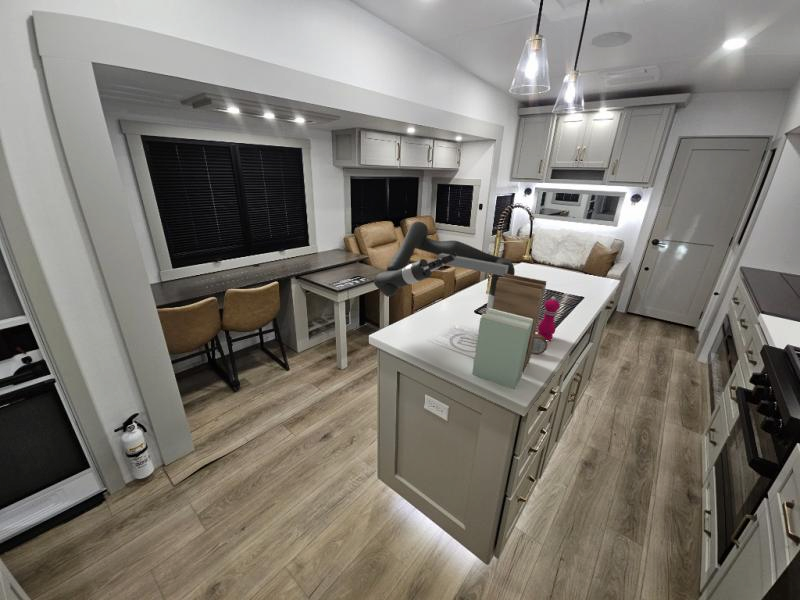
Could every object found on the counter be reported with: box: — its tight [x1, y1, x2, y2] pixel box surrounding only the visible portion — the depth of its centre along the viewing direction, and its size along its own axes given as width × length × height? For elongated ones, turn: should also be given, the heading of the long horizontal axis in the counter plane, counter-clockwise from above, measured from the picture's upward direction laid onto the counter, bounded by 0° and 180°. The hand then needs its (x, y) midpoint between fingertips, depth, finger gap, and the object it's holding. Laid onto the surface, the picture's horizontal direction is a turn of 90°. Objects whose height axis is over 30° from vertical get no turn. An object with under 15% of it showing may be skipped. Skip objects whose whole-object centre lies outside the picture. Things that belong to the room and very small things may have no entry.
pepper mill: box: [537, 296, 561, 341], centre depth 141 cm, size 7×7×20 cm
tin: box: [531, 333, 548, 355], centre depth 130 cm, size 15×3×8 cm, turn 74°
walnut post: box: [492, 274, 547, 373], centre depth 118 cm, size 9×15×33 cm, turn 57°
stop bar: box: [437, 253, 509, 276], centre depth 108 cm, size 3×24×3 cm, turn 56°
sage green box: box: [471, 308, 533, 390], centre depth 110 cm, size 9×15×23 cm, turn 57°
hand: (454, 256), depth 111 cm, fingers closed on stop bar, 3 cm apart
